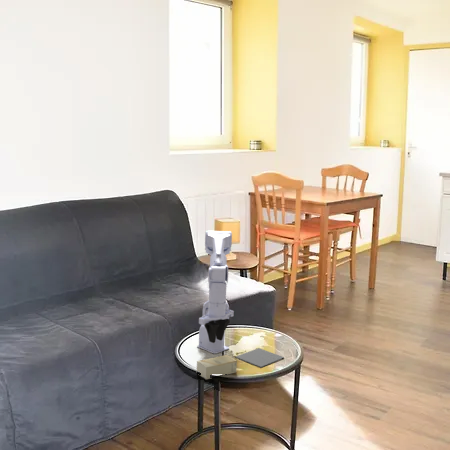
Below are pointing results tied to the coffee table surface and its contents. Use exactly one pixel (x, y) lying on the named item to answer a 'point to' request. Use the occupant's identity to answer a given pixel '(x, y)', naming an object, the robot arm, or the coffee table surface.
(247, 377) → the coffee table surface
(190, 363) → the coffee table surface
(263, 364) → the mat
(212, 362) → the skincare box
